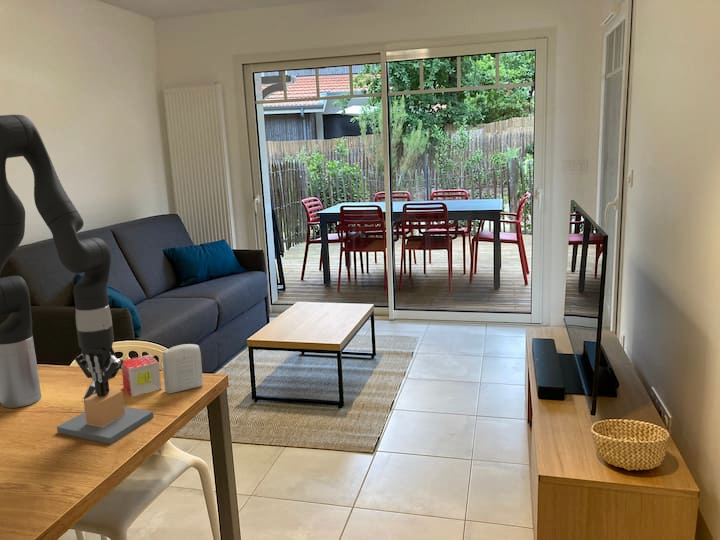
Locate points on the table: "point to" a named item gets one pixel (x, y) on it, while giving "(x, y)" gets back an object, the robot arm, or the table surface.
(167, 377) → the photo printer
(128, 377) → the red and white cube
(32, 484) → the table surface
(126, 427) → the board
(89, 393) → the computer memory module
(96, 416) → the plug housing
